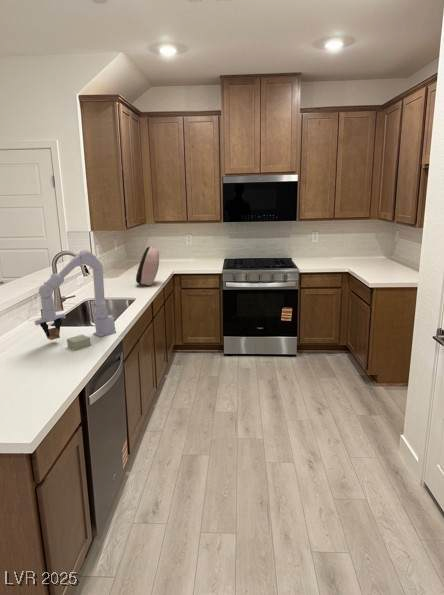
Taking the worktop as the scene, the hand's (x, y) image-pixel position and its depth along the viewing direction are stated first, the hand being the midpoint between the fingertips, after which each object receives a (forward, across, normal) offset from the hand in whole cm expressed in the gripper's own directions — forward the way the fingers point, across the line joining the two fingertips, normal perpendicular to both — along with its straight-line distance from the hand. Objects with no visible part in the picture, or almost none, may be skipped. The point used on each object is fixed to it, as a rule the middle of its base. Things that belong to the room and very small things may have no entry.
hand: (53, 335), depth 205 cm
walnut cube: (+2, 0, 0) cm, 2 cm away
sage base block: (+4, -6, +15) cm, 17 cm away
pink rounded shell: (+5, -108, -70) cm, 129 cm away
